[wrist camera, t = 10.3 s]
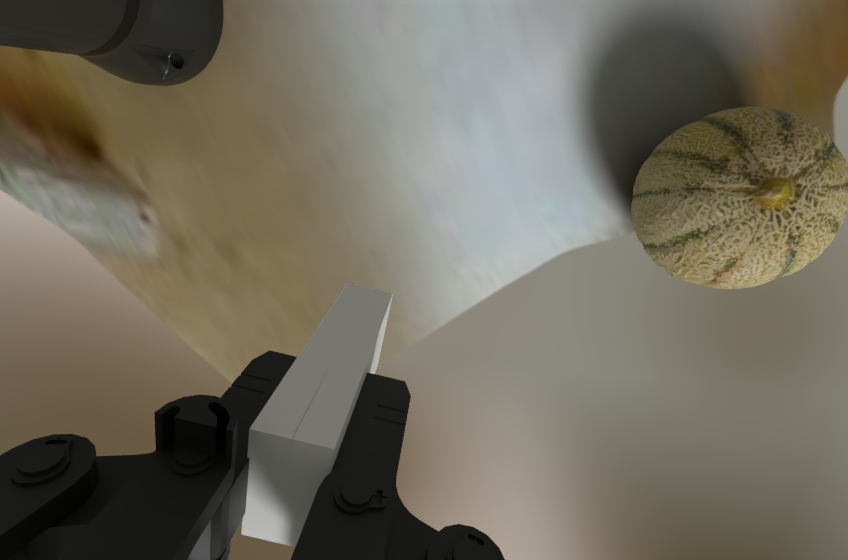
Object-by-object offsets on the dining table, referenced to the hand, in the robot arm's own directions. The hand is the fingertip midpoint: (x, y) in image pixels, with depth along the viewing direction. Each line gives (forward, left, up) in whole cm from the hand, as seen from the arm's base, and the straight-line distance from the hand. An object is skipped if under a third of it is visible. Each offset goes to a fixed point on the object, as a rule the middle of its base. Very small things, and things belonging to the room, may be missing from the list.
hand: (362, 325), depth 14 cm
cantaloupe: (+25, +5, -33) cm, 41 cm away
